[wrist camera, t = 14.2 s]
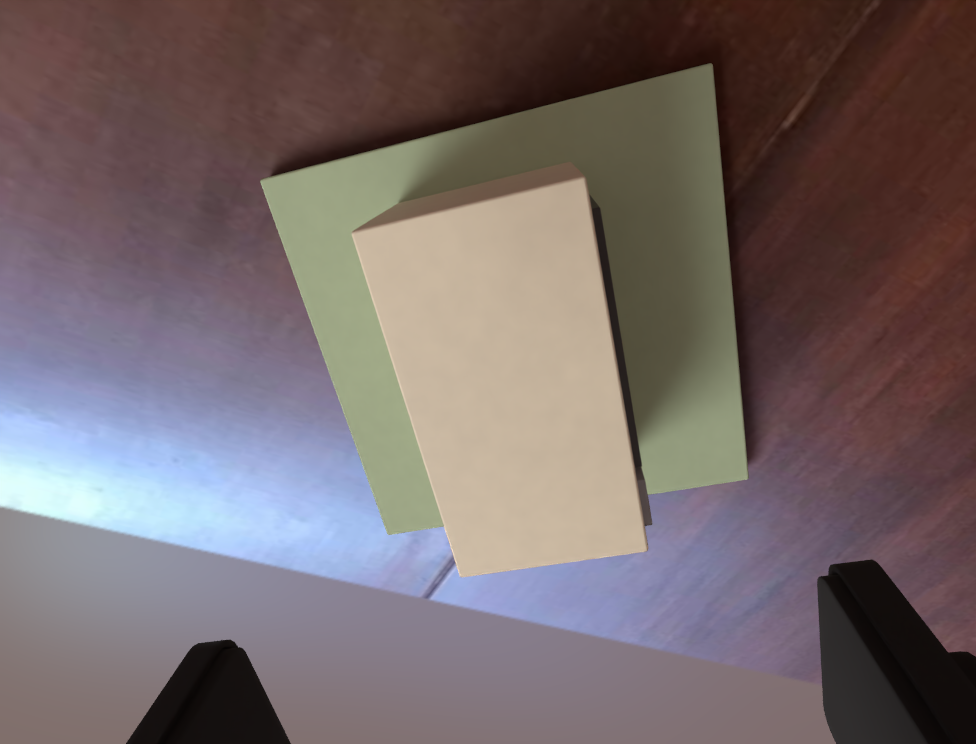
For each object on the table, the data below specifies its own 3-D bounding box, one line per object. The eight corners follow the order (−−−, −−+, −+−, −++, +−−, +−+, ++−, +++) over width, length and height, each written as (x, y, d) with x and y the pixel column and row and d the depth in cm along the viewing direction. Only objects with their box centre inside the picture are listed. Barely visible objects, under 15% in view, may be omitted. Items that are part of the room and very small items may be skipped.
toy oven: (580, 158, 21) (598, 172, 15) (630, 455, 25) (658, 550, 19) (396, 203, 22) (349, 231, 16) (475, 481, 26) (459, 579, 20)
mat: (743, 469, 26) (749, 479, 25) (391, 525, 28) (387, 535, 27) (706, 64, 20) (713, 62, 19) (267, 177, 22) (258, 179, 22)
